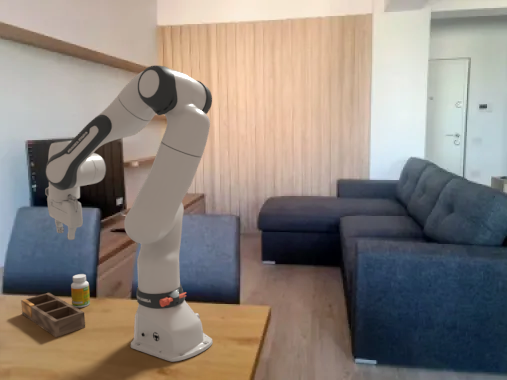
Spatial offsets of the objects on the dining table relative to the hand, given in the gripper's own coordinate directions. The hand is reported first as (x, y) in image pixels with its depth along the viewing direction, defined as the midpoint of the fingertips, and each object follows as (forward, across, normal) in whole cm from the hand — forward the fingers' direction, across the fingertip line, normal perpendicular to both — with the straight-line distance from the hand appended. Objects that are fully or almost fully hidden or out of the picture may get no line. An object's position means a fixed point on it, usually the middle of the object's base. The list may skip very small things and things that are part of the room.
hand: (65, 235), depth 144 cm
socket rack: (+23, -8, +7) cm, 25 cm away
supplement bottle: (+23, -2, -4) cm, 24 cm away
